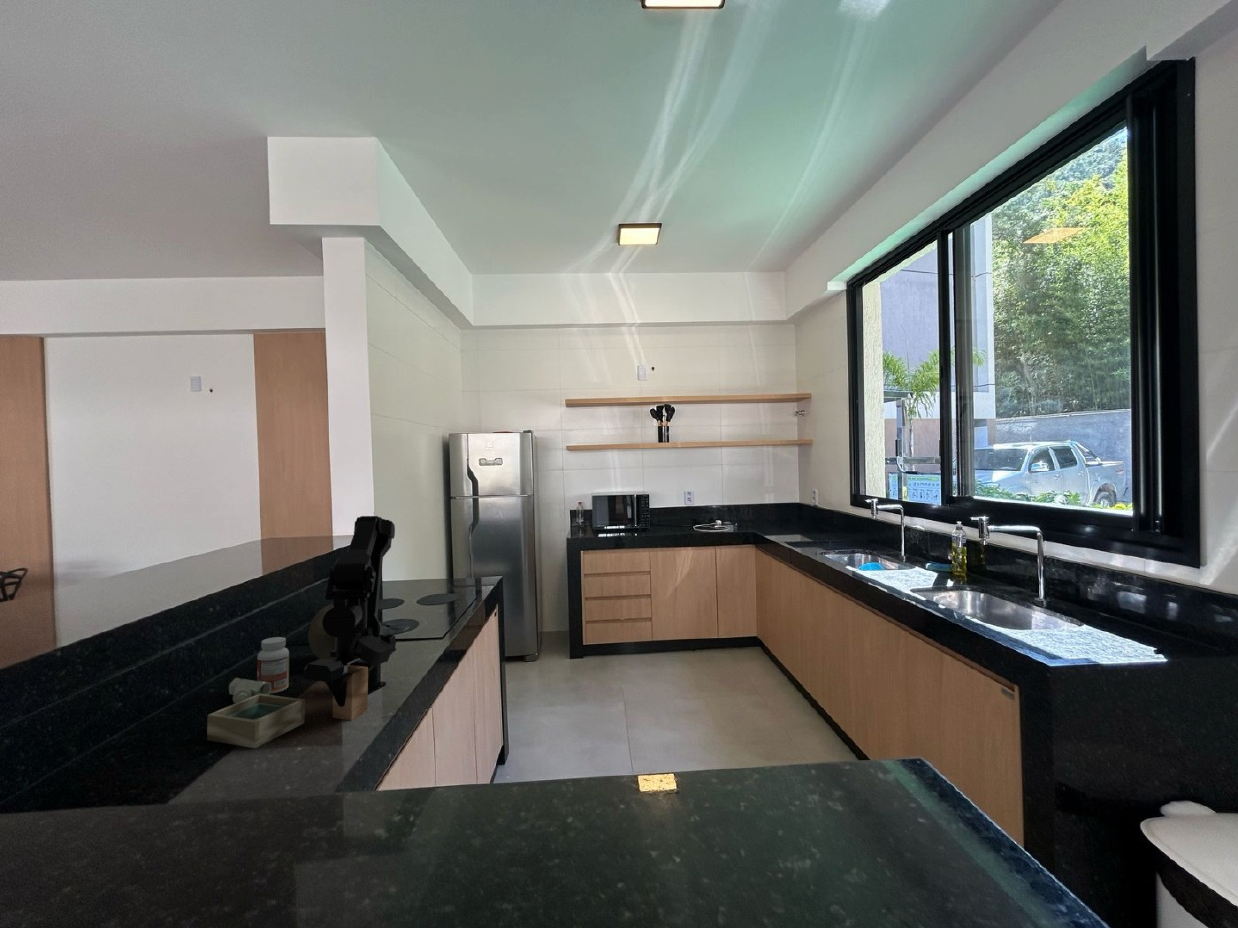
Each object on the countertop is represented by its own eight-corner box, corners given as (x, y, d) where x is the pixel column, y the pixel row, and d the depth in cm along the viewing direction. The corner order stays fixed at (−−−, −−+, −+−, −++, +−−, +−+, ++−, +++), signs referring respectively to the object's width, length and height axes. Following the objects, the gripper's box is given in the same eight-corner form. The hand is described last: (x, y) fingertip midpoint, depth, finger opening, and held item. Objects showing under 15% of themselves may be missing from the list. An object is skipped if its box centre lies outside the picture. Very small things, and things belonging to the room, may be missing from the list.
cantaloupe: (293, 667, 147) (294, 606, 147) (339, 651, 160) (340, 596, 160) (335, 674, 142) (336, 612, 142) (380, 658, 155) (380, 600, 155)
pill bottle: (264, 685, 135) (264, 636, 135) (293, 683, 136) (293, 635, 136) (251, 695, 128) (252, 644, 129) (282, 693, 129) (282, 643, 130)
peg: (348, 708, 122) (349, 664, 122) (367, 711, 120) (368, 667, 120) (332, 717, 117) (333, 671, 117) (351, 720, 116) (352, 674, 116)
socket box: (259, 716, 118) (259, 693, 118) (304, 722, 115) (304, 699, 115) (207, 739, 107) (207, 714, 107) (255, 748, 104) (255, 722, 104)
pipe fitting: (243, 710, 122) (271, 695, 129) (242, 691, 122) (270, 678, 128) (214, 705, 125) (243, 691, 131) (213, 687, 124) (242, 674, 131)
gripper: (351, 639, 108) (350, 725, 108) (414, 616, 126) (413, 689, 126) (302, 634, 111) (301, 718, 111) (370, 612, 129) (369, 684, 129)
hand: (350, 701), depth 119 cm, fingers closed on peg, 4 cm apart
